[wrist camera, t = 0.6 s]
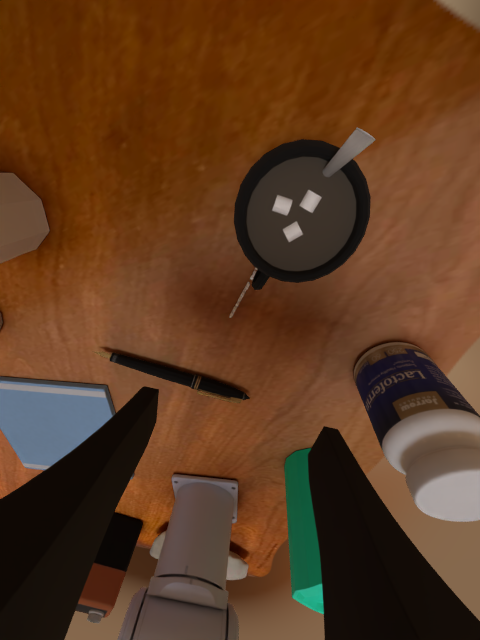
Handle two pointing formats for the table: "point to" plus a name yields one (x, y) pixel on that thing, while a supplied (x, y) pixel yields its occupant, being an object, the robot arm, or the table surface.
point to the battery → (109, 568)
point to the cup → (19, 218)
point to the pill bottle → (423, 429)
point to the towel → (50, 417)
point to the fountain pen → (180, 378)
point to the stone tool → (235, 562)
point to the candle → (302, 534)
